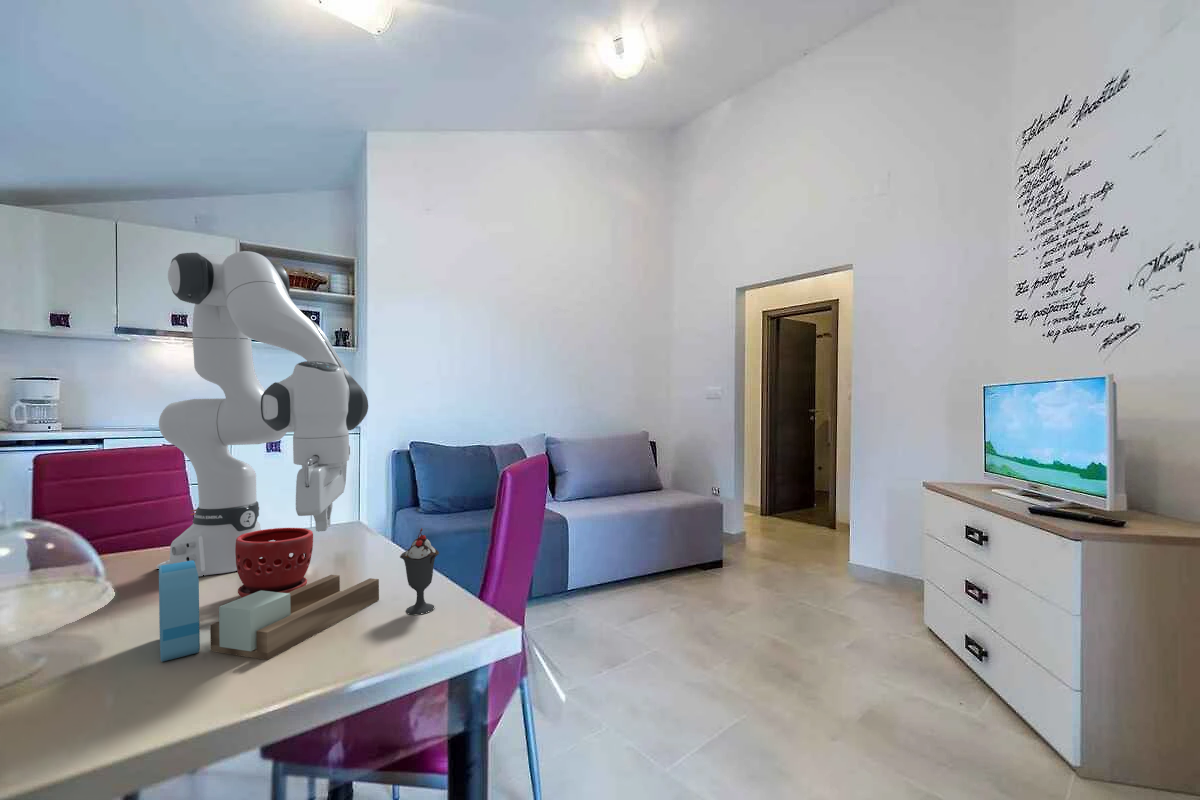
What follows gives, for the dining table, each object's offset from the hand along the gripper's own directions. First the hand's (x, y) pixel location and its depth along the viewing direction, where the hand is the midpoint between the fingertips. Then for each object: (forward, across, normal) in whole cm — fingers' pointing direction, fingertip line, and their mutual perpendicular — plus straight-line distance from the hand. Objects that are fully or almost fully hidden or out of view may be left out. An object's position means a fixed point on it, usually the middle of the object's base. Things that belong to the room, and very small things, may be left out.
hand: (323, 529), depth 95 cm
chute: (+15, -4, +2) cm, 16 cm away
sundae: (+15, -4, -17) cm, 23 cm away
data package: (+15, -9, +19) cm, 25 cm away
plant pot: (+15, +13, +12) cm, 23 cm away
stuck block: (+13, -12, +7) cm, 19 cm away
